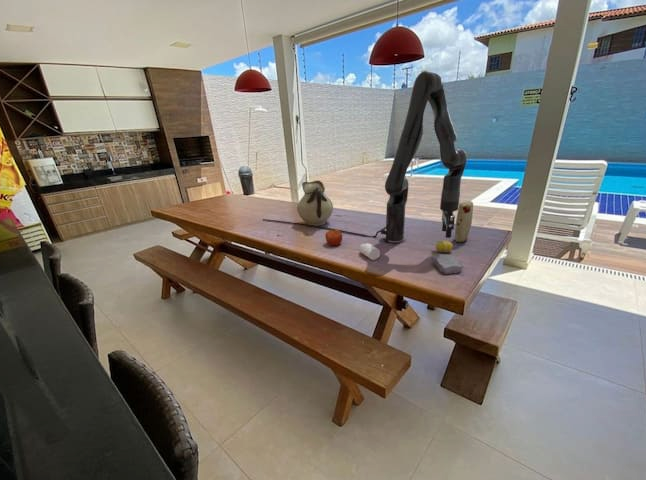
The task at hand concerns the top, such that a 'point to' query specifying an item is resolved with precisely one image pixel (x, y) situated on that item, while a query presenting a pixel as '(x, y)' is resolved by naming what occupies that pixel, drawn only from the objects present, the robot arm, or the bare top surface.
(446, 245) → the lemon
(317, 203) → the cream drawstring sack
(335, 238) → the tomato
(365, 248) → the roll
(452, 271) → the stone block
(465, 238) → the food model
